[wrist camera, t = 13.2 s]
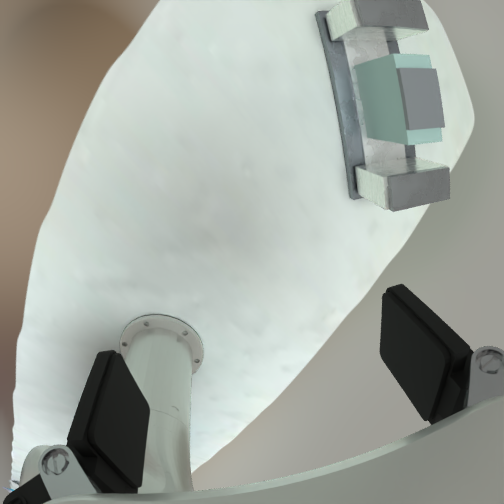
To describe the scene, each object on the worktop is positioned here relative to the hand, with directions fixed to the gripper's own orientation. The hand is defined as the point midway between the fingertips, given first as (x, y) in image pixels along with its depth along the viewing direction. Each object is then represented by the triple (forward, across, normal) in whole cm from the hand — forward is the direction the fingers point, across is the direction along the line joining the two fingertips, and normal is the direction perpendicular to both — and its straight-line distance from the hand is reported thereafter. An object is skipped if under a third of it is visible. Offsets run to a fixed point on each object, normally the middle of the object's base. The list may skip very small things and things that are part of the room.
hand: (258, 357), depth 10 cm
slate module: (+26, -20, -9) cm, 34 cm away
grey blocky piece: (+28, -20, -9) cm, 36 cm away
